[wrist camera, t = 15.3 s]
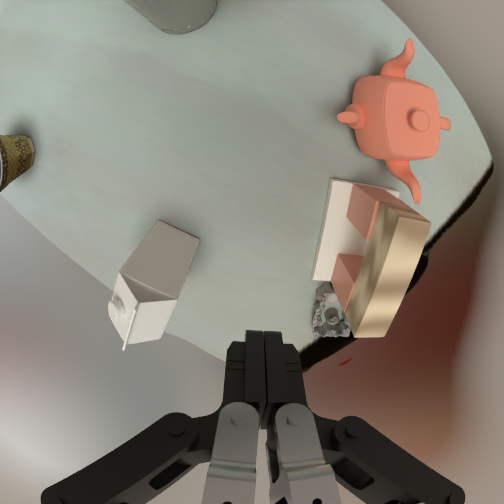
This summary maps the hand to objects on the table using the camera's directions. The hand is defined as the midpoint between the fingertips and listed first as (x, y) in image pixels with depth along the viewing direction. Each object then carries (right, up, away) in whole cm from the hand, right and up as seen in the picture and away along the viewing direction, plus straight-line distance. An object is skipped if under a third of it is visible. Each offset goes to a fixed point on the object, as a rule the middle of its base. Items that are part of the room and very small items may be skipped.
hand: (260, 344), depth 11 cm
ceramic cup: (-42, +21, +22) cm, 52 cm away
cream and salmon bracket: (+15, +7, +29) cm, 34 cm away
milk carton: (-13, +5, +30) cm, 33 cm away
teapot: (+16, +23, +21) cm, 35 cm away
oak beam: (+15, +3, +21) cm, 26 cm away
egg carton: (+14, -5, +36) cm, 39 cm away
